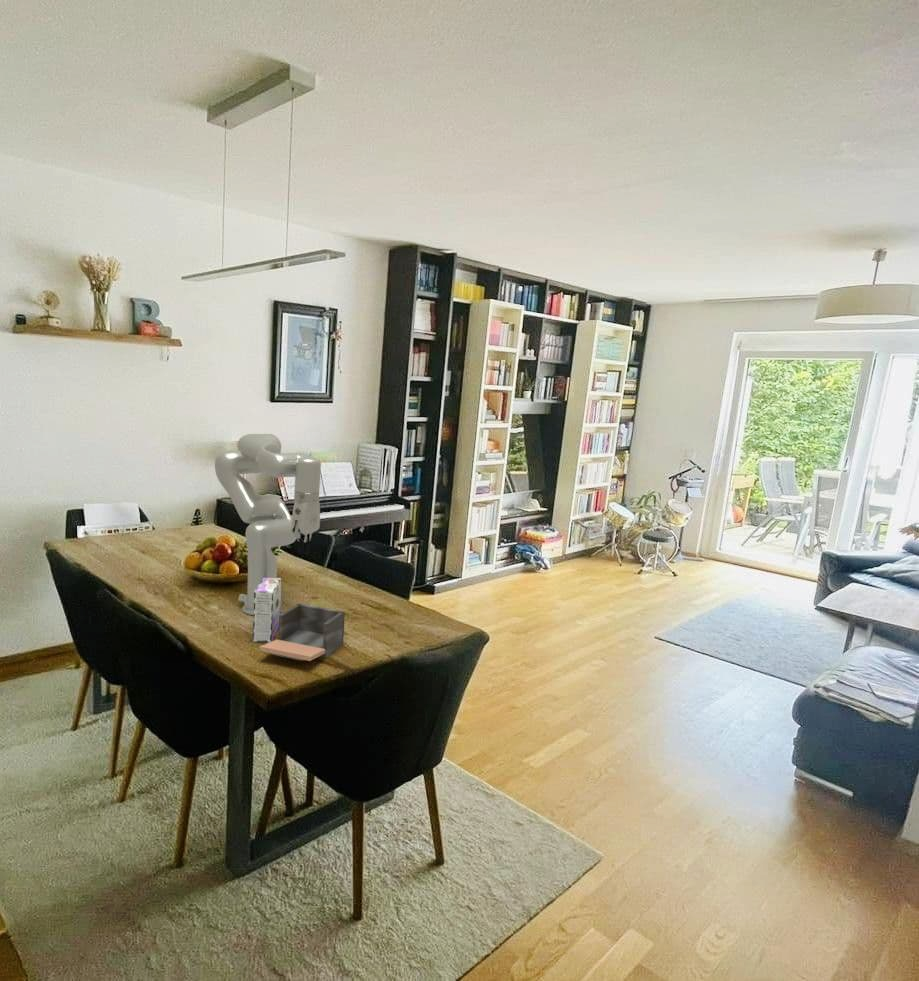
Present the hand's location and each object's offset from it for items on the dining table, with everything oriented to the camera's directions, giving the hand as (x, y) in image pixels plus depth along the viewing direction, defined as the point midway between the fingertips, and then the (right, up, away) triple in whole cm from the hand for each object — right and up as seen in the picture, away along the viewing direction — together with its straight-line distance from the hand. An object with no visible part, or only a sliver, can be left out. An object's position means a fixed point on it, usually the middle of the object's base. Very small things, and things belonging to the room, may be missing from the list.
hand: (303, 553), depth 195 cm
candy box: (-12, -26, 0) cm, 28 cm away
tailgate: (+3, -26, -14) cm, 30 cm away
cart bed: (+4, -28, -7) cm, 29 cm away
